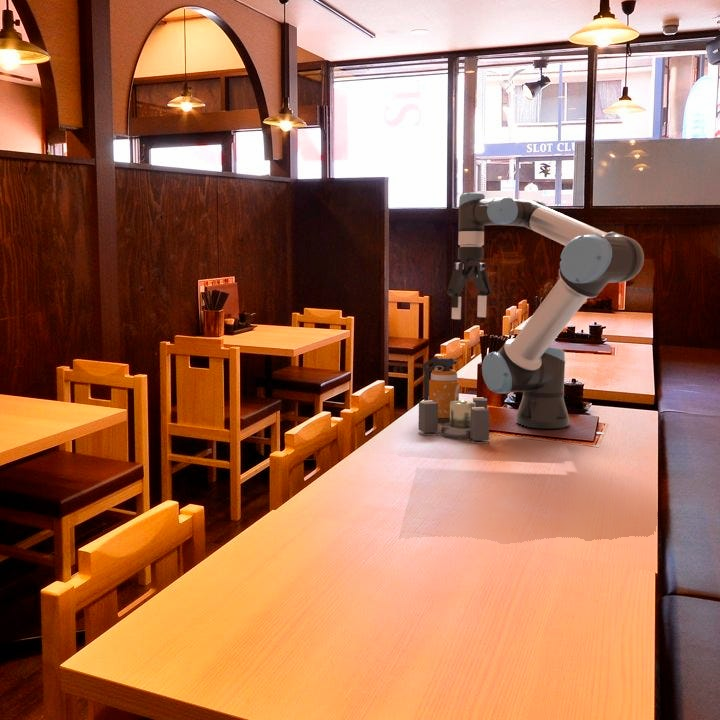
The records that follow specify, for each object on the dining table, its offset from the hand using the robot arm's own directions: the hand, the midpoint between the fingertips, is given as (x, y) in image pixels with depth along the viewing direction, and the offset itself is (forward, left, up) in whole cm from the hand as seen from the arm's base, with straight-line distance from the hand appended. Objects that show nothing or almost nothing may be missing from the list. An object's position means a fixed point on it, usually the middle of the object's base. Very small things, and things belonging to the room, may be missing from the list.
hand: (469, 318), depth 231 cm
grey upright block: (+11, +20, -31) cm, 39 cm away
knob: (-4, +12, -31) cm, 34 cm away
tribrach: (+1, +20, -31) cm, 37 cm away
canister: (+8, +4, -32) cm, 33 cm away
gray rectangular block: (-4, +29, -31) cm, 43 cm away
